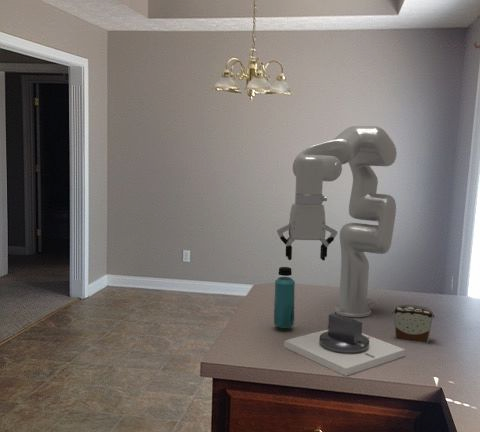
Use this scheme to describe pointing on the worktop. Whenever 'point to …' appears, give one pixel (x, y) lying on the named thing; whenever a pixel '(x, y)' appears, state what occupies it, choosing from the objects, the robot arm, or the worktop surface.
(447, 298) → the worktop surface
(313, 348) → the dial plate
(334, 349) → the dial
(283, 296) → the beverage bottle
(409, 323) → the food container
